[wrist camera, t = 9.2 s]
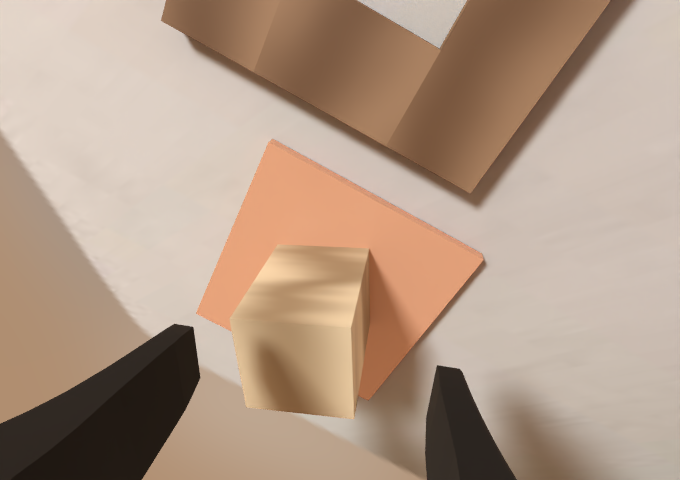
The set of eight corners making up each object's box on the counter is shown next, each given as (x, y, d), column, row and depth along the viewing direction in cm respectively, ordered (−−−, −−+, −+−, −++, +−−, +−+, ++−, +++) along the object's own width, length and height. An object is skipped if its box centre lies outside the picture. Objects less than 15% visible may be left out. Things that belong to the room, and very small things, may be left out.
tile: (481, 253, 20) (483, 259, 19) (369, 392, 25) (368, 400, 25) (272, 139, 19) (268, 142, 19) (200, 307, 24) (196, 313, 24)
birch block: (368, 248, 20) (350, 328, 15) (369, 324, 22) (354, 419, 17) (277, 244, 21) (229, 318, 16) (286, 318, 23) (246, 407, 18)
